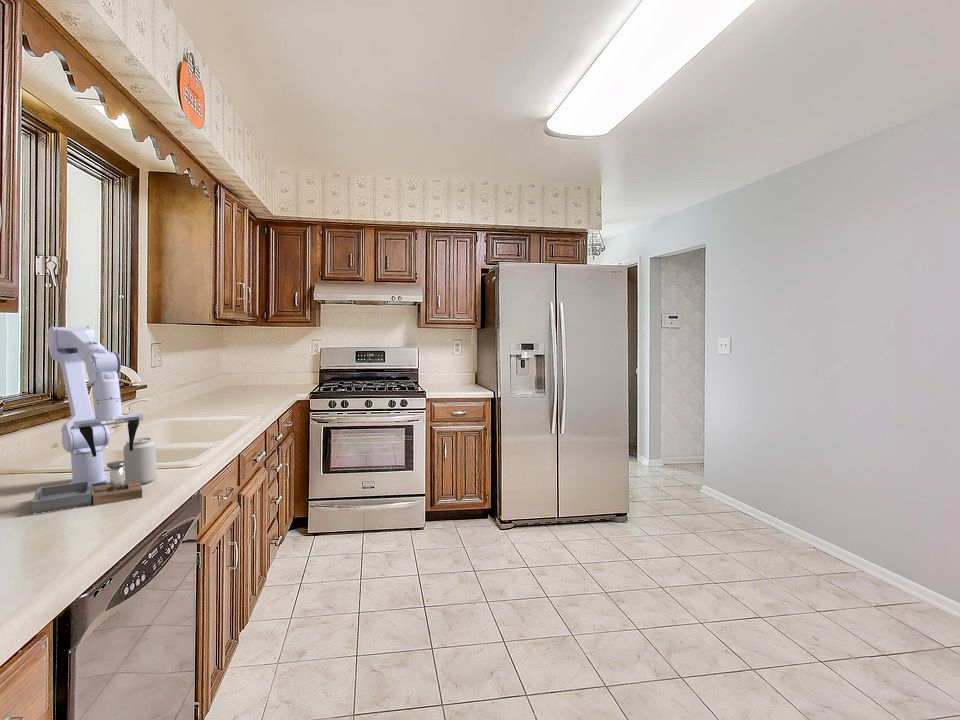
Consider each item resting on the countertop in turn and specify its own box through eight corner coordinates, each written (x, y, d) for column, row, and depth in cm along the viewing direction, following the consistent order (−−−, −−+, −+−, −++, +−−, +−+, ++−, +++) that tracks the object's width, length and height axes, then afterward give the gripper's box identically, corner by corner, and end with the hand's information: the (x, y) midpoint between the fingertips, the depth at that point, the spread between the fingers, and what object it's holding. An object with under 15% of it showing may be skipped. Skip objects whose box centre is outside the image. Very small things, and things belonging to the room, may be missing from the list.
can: (121, 487, 145) (118, 443, 144) (131, 479, 152) (128, 437, 151) (152, 484, 147) (150, 441, 146) (160, 476, 154) (158, 435, 153)
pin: (108, 495, 138) (106, 462, 137) (127, 492, 140) (125, 460, 139) (108, 499, 134) (106, 465, 134) (127, 496, 137) (125, 463, 136)
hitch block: (94, 494, 138) (94, 486, 138) (140, 487, 144) (140, 480, 144) (93, 505, 130) (93, 497, 130) (142, 497, 136) (141, 489, 136)
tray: (38, 499, 135) (37, 487, 135) (92, 491, 141) (91, 480, 141) (32, 514, 124) (31, 502, 124) (91, 505, 130) (90, 493, 130)
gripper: (70, 403, 129) (76, 460, 128) (141, 395, 137) (147, 448, 136) (72, 404, 134) (78, 458, 134) (140, 396, 143) (146, 447, 142)
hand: (113, 453), depth 136 cm, fingers open, 7 cm apart
